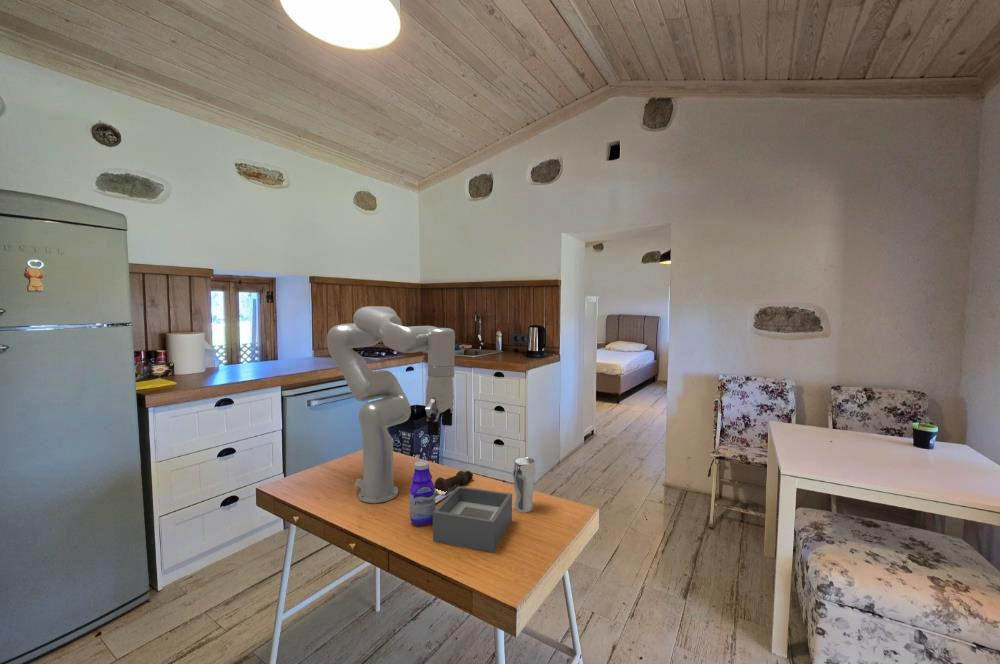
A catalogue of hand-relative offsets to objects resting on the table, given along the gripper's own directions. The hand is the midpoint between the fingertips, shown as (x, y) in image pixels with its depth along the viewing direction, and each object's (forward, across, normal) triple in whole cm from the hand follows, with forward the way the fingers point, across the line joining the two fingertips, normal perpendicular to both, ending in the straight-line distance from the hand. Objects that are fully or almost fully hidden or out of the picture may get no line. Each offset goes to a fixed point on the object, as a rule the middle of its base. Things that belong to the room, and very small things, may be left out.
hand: (440, 429), depth 121 cm
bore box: (+26, +3, +12) cm, 29 cm away
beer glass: (+26, -14, +22) cm, 37 cm away
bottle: (+27, +2, -4) cm, 27 cm away
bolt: (+28, -22, -4) cm, 36 cm away
